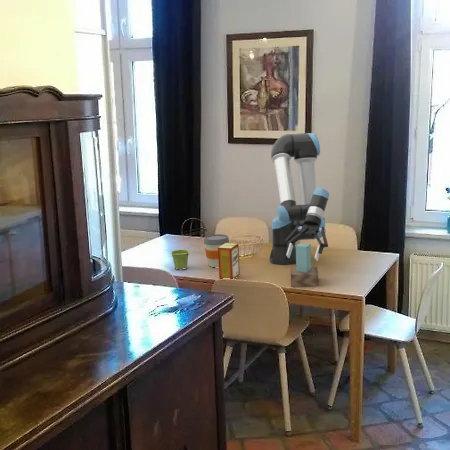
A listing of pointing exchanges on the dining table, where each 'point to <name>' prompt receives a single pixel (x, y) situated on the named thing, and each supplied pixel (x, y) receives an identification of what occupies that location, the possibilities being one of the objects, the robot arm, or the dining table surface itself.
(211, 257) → the reusable coffee cup
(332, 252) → the dining table surface
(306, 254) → the teal wooden block
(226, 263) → the baking soda box
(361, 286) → the dining table surface
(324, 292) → the dining table surface
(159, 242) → the dining table surface
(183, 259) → the plant pot
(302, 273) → the walnut block
